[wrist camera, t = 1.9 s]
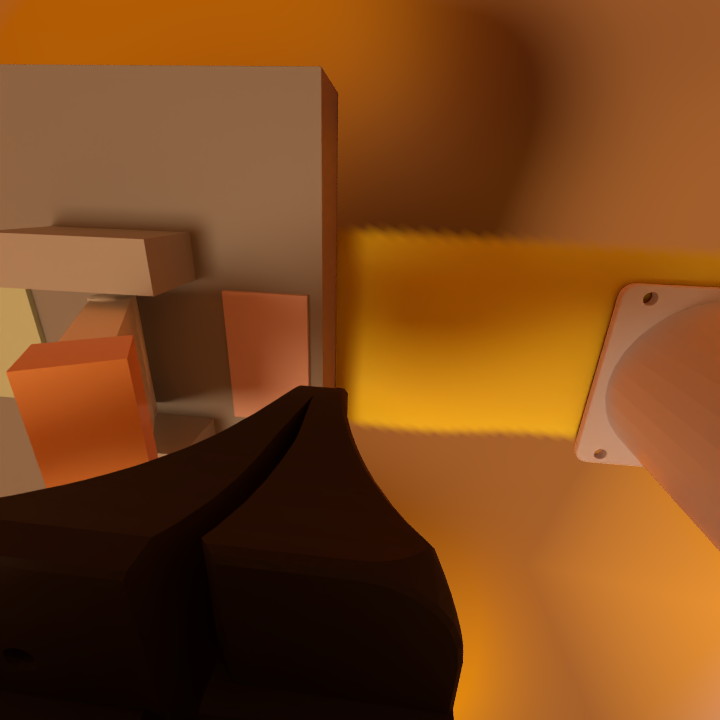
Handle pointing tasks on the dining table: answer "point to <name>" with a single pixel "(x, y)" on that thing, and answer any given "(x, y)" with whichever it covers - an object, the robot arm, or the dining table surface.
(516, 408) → the dining table surface
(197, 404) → the panel
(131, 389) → the toggle lever
